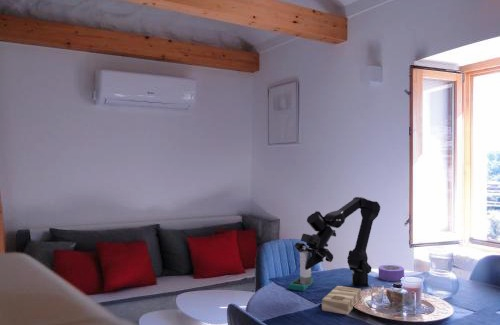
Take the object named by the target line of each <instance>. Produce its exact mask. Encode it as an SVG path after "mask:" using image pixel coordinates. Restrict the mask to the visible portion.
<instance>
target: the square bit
mask: <svg viewBox="0 0 500 325" xmlns="http://www.w3.org/2000/svg"><path fill="white" fill-rule="evenodd" d="M310 258H311V252H307V251H303V252H299V265H300V267H299V277H300V283H301V284H304V285H308V284H311V278H312V267H311V268H309V269H308V270H306V269H305V267H306V265H307V263H308V261H309V260H310ZM311 285H312V284H311Z"/></svg>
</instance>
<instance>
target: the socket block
mask: <svg viewBox="0 0 500 325" xmlns="http://www.w3.org/2000/svg"><path fill="white" fill-rule="evenodd" d="M360 297H361V298H362V288H356V287H349V286H341V285H337V286H336V287H334V288H333V289H332V290H331V291H330V292H329V293H328V294H327V295H325V296H324V297H323V298H322V299H321V311H324V312H330V313H336V314H341V315H342V314H343V315H349V314H350V312H351V311H353V309H354V308H353V306H354V304H355V303H356V302H357V301H358V300H359V299H360ZM360 300H361V299H360ZM360 300H359V301H360ZM354 307H355V306H354Z"/></svg>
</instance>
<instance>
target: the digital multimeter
mask: <svg viewBox="0 0 500 325" xmlns="http://www.w3.org/2000/svg"><path fill="white" fill-rule="evenodd" d="M312 283H313V284H314V278H313V277H311V284H308V285H304V284H301V283H300V276H298V277H297V278H296V279H295V280H293V281H292V282H290V283H289V284H288V290H291V289H292V291H297V290H298V291H300V292H305V290H306V289H307V288H309V287H310V286H311V285H312ZM308 286H309V287H308Z"/></svg>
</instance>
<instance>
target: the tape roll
mask: <svg viewBox="0 0 500 325" xmlns="http://www.w3.org/2000/svg"><path fill="white" fill-rule="evenodd" d="M402 277H404V278H405V267H403V266H402V265H396V264H383V265H379V266H378V278H379V279H381V280H383V281H388V282H400V281H399V280H400V279H401V278H402Z"/></svg>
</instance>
